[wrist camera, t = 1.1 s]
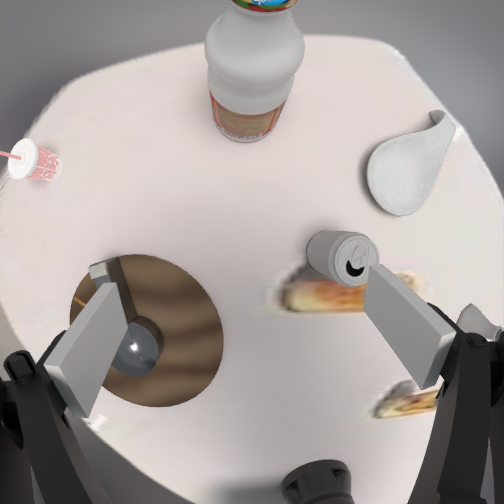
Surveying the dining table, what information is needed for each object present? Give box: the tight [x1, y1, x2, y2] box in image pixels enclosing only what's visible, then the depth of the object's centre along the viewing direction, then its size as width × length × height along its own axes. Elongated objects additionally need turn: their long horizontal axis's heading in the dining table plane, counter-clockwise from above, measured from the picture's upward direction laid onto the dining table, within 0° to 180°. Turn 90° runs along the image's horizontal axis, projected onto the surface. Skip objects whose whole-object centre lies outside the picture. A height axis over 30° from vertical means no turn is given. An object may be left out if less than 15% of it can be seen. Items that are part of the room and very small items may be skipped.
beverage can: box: [307, 231, 379, 287], centre depth 37 cm, size 6×6×12 cm
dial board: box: [70, 255, 223, 407], centre depth 42 cm, size 26×26×1 cm
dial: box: [88, 257, 164, 377], centre depth 38 cm, size 17×8×6 cm, turn 16°
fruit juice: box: [205, 0, 305, 142], centre depth 27 cm, size 9×9×28 cm
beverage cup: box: [0, 138, 62, 181], centre depth 32 cm, size 6×6×14 cm
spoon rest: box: [367, 110, 456, 216], centre depth 40 cm, size 24×12×7 cm, turn 137°
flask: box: [456, 304, 504, 341], centre depth 42 cm, size 7×7×10 cm
